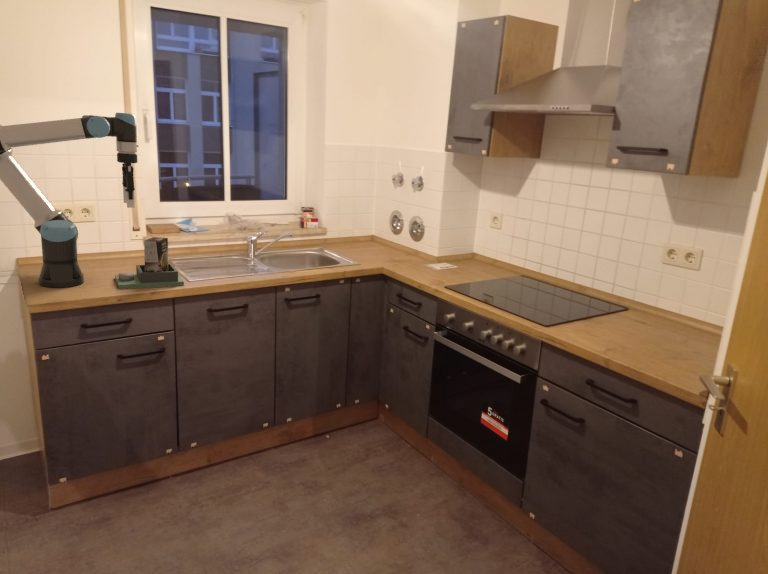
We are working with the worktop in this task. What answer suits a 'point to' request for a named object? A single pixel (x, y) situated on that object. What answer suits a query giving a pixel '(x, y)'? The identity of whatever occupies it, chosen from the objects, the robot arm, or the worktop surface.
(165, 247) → the coffee box
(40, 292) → the worktop surface
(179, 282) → the deck
